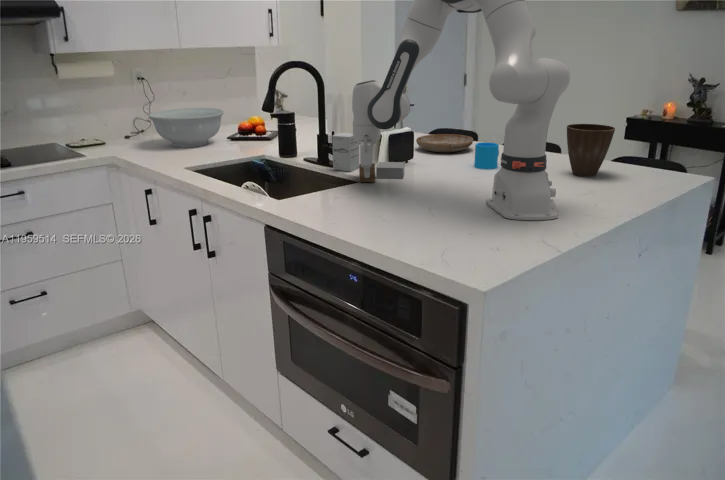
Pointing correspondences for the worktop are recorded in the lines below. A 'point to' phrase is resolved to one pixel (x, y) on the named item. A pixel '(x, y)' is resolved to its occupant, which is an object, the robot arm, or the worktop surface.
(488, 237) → the worktop surface
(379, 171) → the grey base
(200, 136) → the bowl
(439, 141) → the shallow wooden dish
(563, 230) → the worktop surface
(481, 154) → the mug
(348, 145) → the supplement box
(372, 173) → the walnut cube
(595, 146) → the plant pot
